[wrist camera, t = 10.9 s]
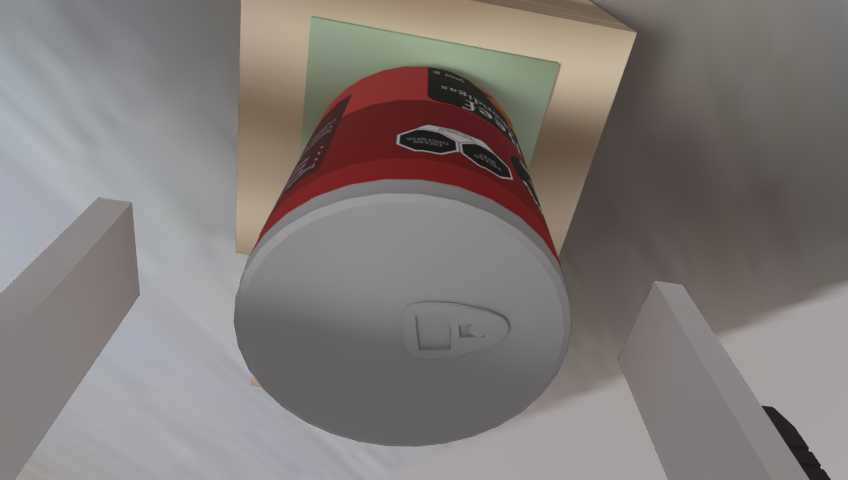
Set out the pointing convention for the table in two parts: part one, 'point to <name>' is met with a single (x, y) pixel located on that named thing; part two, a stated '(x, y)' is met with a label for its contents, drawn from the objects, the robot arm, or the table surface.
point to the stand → (437, 48)
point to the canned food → (406, 269)
